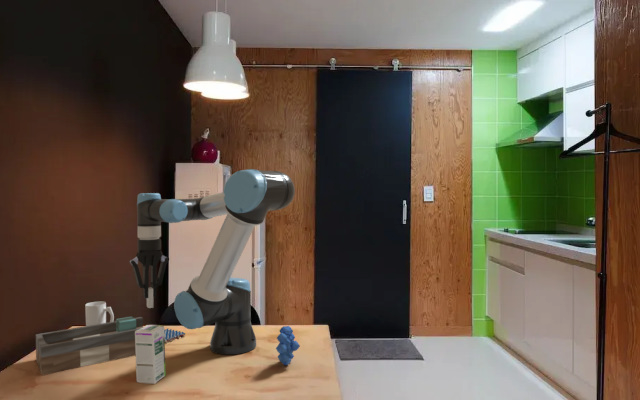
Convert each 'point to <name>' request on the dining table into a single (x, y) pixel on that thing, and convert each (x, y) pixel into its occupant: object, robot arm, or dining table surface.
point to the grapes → (286, 345)
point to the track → (84, 346)
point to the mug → (97, 313)
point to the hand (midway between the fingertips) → (150, 307)
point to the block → (125, 324)
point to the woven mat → (172, 335)
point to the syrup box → (150, 354)
